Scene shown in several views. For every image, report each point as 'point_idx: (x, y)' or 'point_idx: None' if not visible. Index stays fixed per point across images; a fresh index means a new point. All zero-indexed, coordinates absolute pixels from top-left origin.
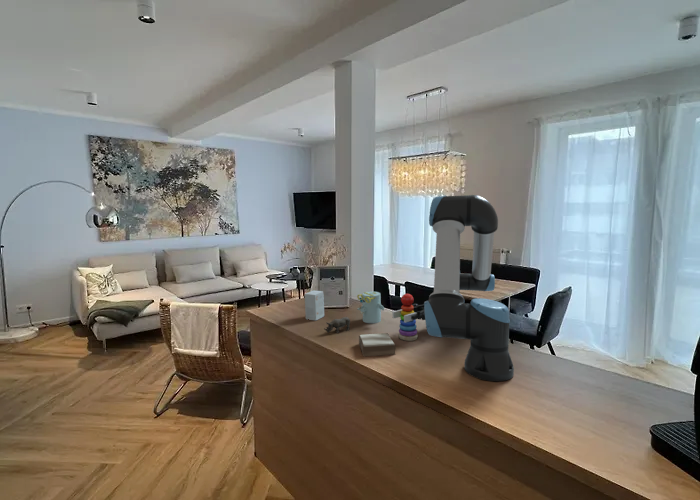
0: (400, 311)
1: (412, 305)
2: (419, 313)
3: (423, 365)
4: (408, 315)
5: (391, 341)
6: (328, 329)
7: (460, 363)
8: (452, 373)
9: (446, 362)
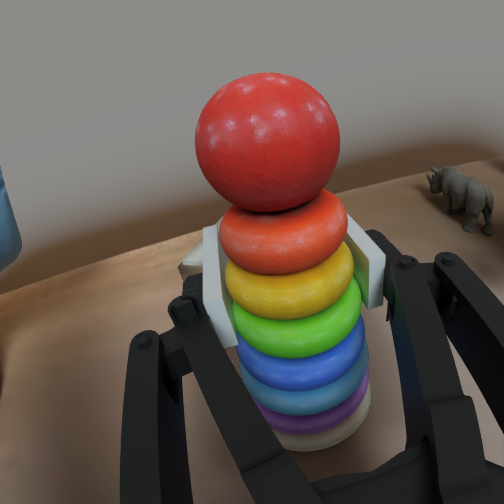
0: (345, 238)
1: (253, 230)
2: (177, 319)
3: (82, 324)
4: (203, 245)
5: (201, 258)
6: (430, 182)
7: (9, 403)
8: (16, 350)
9: (39, 380)
